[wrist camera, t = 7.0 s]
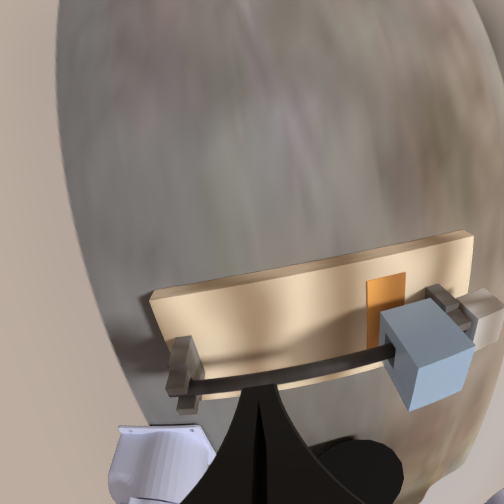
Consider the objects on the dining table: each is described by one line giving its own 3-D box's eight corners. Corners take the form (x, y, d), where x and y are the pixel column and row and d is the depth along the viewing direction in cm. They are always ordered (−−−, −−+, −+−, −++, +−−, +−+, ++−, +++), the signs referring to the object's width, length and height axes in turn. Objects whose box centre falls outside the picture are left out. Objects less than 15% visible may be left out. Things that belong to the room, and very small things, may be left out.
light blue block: (378, 354, 20) (408, 411, 15) (380, 311, 19) (418, 368, 13) (424, 340, 20) (461, 390, 14) (430, 297, 18) (475, 345, 13)
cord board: (194, 388, 25) (185, 448, 18) (154, 290, 21) (126, 345, 15) (450, 331, 24) (486, 373, 17) (462, 229, 20) (516, 260, 14)
